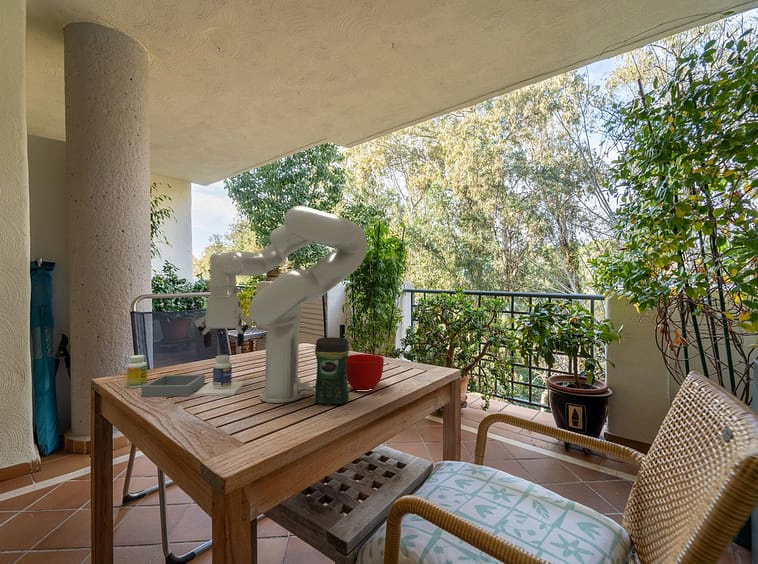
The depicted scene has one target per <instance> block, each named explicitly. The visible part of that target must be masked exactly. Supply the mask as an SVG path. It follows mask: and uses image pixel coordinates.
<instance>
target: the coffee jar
mask: <svg viewBox="0 0 758 564" xmlns="http://www.w3.org/2000/svg"><path fill="white" fill-rule="evenodd" d="M314 349H315V350H314V355H315V357H316V379H315V387H314V402H315V403H316V404H317V403H318V405H323V404H341V405H344V404H346V403H347V402H348V400H349V386H348V384H349V383H348V381H347V371H346V360H347V356H349V354H350V353H349V352H350V349H349V341H348V339H347V338H346V337H334V336H332V337H331V336H330V337H320V338H318V339H317V340H316V342H315V347H314ZM345 402H346V403H345ZM343 403H344V404H343Z"/></svg>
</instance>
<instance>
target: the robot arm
mask: <svg viewBox="0 0 758 564" xmlns="http://www.w3.org/2000/svg"><path fill="white" fill-rule="evenodd" d="M269 239H270V244H269V245H268V246H267V247H265V248H262V249H261V250H260V251H258V252H252V251H243V250H232V251H230V252H214V253H212V254H211V255H210V256H209V269H210V271H209V272H210V274H209V276H210V278H209V279H210V283H209V284H210V287H209V288H210V290H209V291H210V296H208V297H207V301H206V308H205V309H206V310H205V315H203V316H202V317H200V318H197V319H196V320H195V321H194V324H195V326H196V328H197V330H199V332H200V333H201V334H202V335H203V344H204V348H210V347H212V334H211V333H210V332H212V330H213V329H216V330H217V329H235V330H236V331H237V334H236V335H237V336H236V339H237V341H236V343H237V347H239V348H240V347H242V346H243V344H245V332H246V331H247V330H249V328H250V325H251V324H252V322H253V323H255V324H256V325H259V326H262V327H267V332H266V336H265V369H264V372H265V377H264V378H265V379H264V380H265V381H264V389H263V391H261V392H260V393H259V397H258V398H259V399H260V400H261V401H263V402H265V403H269V404H272V403H273V404H282V403H284V402H285V403H290V402H291V403H292V402H294V401H297V400H299V399H301V398H302V397H303V396H304V392H313V389H314V385H313V384H310V383H309V382H307V383H302V382H301V378H299V347H300V345H299V344H300V327H301V320H302V317H303V316H302V315H303V305H304V304H308V303H314V302H316V301H318V300H319V299H320V298H322V297H323V296H325V294H327V293H328V292H330V291H331V290H332V289H333V288H335V287H336V286H338V285H339V284H340V283H341V282H342V281H344V280H345V279H346V278H348V277H349V276H350V275H352V274H353V273H354V272H355V271H356V270H357V269H359V267H360V266H361V265H362V264H363V262H364V260H365V258H366V256H367V252H368V239H367V235H366V233H365V231H364V229H363V228H362V227H361V226H360V225H359V224H357V223H356V222H354V221H351V220H349V219H347V218H345V217H342V216H340V215H336V214H333V213H330V212H326V211H322V210H318V209H316V208H311V207H309V206H306V205H302V204H301V205H300V204H299V205H295V206H293V207H290V209H289V210H288V211H287V212H286V213H285V215H284V218H283V224H282V225H280V226H278V227H277V228H275V229H273V230H272V231H271V232H270V234H269ZM311 243H316V244H319V245H322V246H325V247H328V248H332V249H334V251H332V252H330V253H329V254H327V255H326V256H324V257H322V258H321V259H320V260H319V261H317V262H316V263H315V264H313V265H312V266H310V267H308V268H306V269H300V268H299V269H298V268H295V269H290V270H287V271H284V273H281V274H280V275H279V276H278V277H276V278H275V279H274V280H272V281H271V282H270V283H268V284H267V285H266V286H265V287H263V288H262V289H261V290H260V291H258V292H257V293H256V294H255V295H254V296H253V297H252V298H251V300H250V303H249V306H248V314H249V317H248V316H247V315H245V314H243V312H242V311H243V310H242V304H241V299H240V296H238V293H241V292H242V289H241V288H240V287H239V288H238V286H237V276H241V277H242V276H243V277H249V276H250V277H258V276H262V275H264V274H266V273H269V272H270V271H272V270H274V269H276V268H277V267H279V266H280V265H282V263H283V262H284V261H285V260H286V259H287V257H288V256H290V255H291V254H293V253H295V252H296V251H299V250H300V249H302V248H304V247H306V246H308V245H310V244H311ZM204 321H205V326H204V325H203V324H202V323H203V322H204ZM243 321H245V325H244V326H242V325H243Z"/></svg>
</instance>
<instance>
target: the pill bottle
mask: <svg viewBox="0 0 758 564" xmlns="http://www.w3.org/2000/svg"><path fill="white" fill-rule="evenodd" d="M230 357H231V356H230V354H229V355H228V354H219V355H217V356H215V363H213V365H212V366H213V367H212V368H213V369H212V372H213V373H212V382H213V388H215V389H224V388H228V387H230V386H231V382H232V379H233V378H232V373H233V372H232V371H233V370H232V369H233V365H232V362H230Z"/></svg>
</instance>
